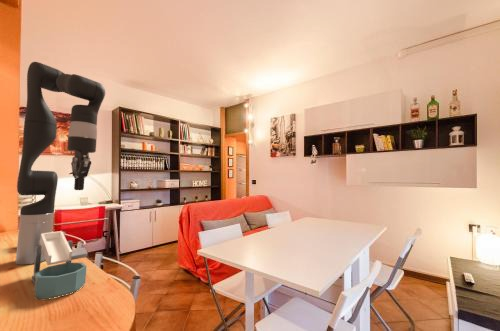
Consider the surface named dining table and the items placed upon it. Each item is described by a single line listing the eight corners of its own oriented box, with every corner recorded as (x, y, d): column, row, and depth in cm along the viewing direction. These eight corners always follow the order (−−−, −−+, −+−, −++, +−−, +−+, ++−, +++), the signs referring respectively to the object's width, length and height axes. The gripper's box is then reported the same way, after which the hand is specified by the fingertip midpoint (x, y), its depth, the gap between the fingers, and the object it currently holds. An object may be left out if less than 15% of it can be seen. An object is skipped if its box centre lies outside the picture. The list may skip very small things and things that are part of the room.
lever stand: (31, 280, 67) (34, 244, 67) (67, 271, 73) (70, 239, 74) (34, 285, 64) (37, 248, 64) (71, 276, 70) (74, 242, 71)
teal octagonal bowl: (32, 290, 61) (33, 269, 61) (78, 278, 69) (79, 260, 69) (38, 304, 54) (40, 280, 55) (88, 289, 62) (89, 268, 63)
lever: (38, 250, 72) (40, 233, 71) (74, 244, 79) (76, 229, 78) (46, 275, 62) (48, 255, 62) (85, 266, 69) (88, 248, 69)
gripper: (63, 137, 75) (59, 189, 74) (74, 133, 67) (69, 191, 65) (90, 141, 81) (86, 189, 80) (102, 137, 72) (99, 190, 71)
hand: (78, 189), depth 73 cm, fingers closed
